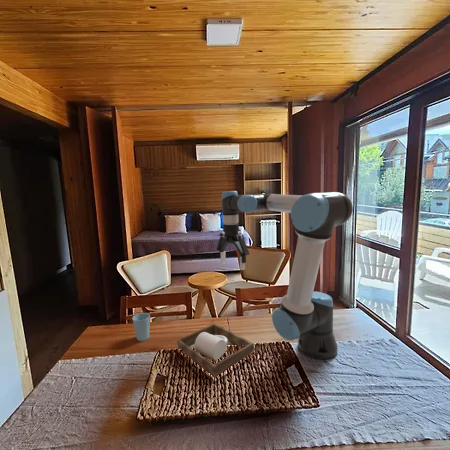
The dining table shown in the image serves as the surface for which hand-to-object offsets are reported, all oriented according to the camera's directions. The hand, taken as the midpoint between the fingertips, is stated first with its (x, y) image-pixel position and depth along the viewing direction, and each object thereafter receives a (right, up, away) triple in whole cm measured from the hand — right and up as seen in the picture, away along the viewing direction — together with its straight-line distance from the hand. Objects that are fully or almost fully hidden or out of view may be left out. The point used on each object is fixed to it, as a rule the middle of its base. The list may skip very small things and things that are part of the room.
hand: (232, 267), depth 130 cm
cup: (-42, -32, -7) cm, 53 cm away
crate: (-8, -32, -22) cm, 40 cm away
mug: (-8, -31, -22) cm, 39 cm away
